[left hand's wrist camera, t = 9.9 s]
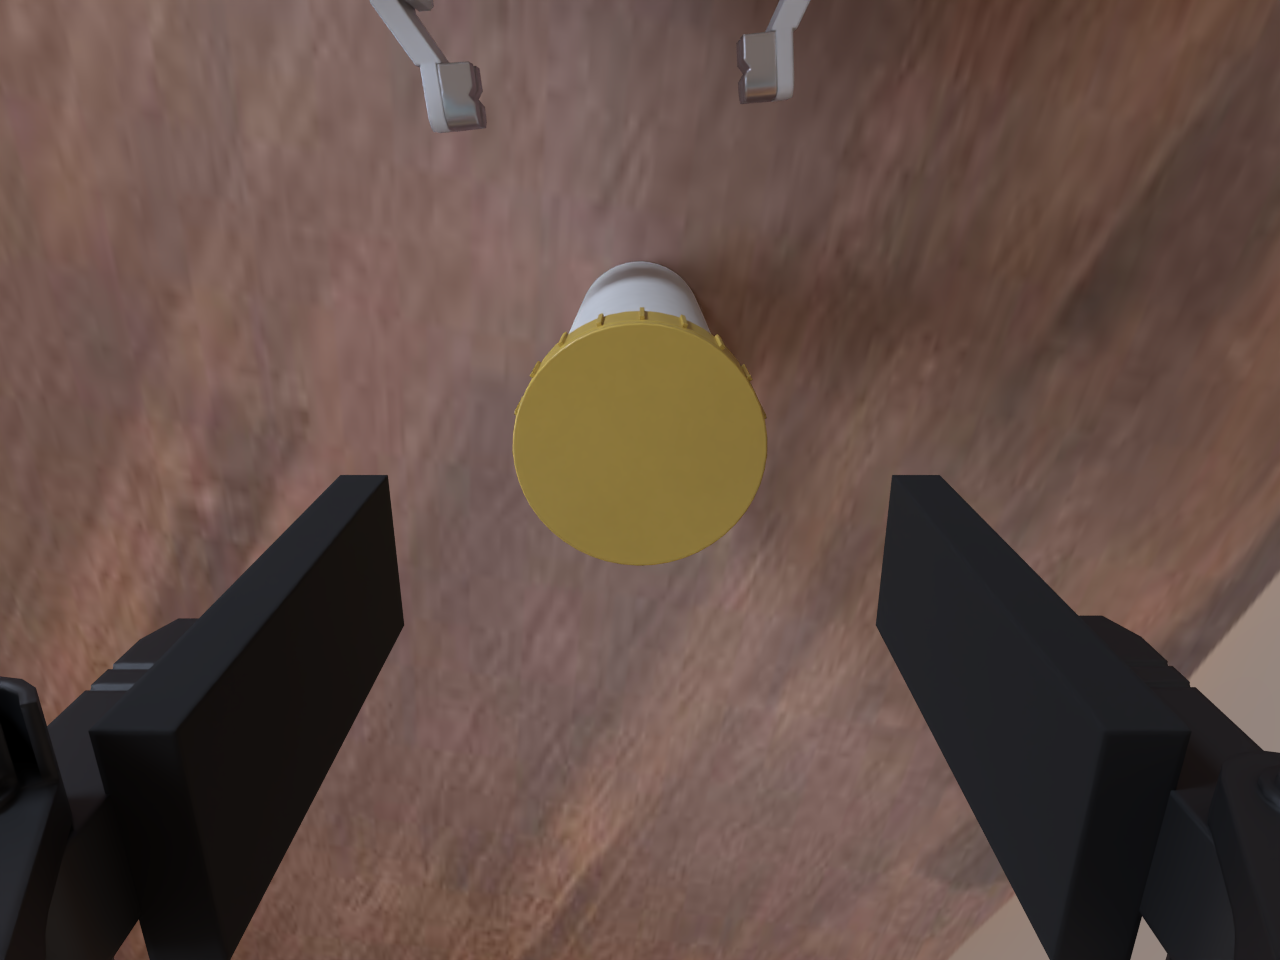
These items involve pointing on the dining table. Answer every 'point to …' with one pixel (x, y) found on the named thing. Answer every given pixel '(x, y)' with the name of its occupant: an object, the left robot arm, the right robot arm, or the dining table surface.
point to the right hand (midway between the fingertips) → (612, 116)
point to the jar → (639, 294)
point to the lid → (640, 438)
